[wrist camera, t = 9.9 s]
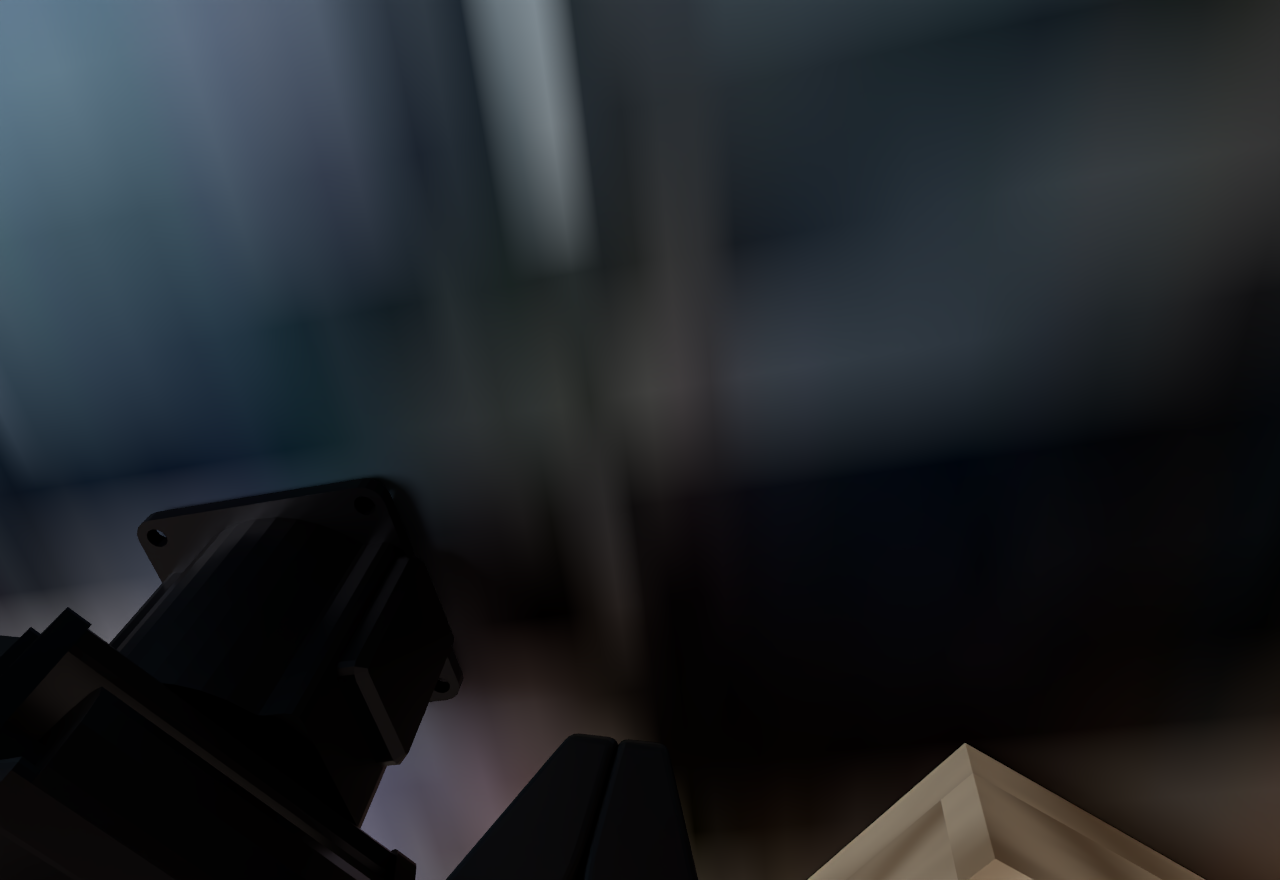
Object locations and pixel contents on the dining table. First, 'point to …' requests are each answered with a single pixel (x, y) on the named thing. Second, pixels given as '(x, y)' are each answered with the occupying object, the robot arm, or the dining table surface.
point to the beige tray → (992, 834)
